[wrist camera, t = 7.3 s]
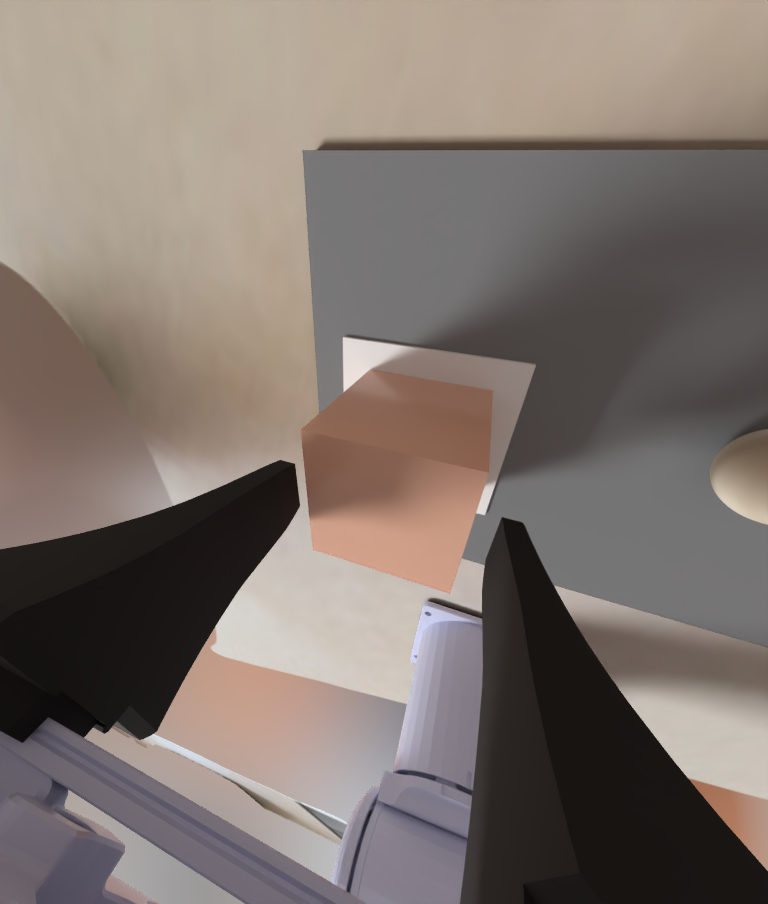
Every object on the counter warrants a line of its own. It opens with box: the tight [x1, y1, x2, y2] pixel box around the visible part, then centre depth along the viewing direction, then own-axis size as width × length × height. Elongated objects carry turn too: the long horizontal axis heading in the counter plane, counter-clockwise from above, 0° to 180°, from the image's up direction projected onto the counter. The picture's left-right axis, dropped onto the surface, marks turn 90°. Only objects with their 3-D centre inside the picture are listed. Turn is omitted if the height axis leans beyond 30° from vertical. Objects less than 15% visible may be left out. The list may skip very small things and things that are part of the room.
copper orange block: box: [301, 369, 493, 593], centre depth 12 cm, size 5×5×6 cm
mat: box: [303, 150, 768, 647], centre depth 13 cm, size 18×27×1 cm, turn 86°
